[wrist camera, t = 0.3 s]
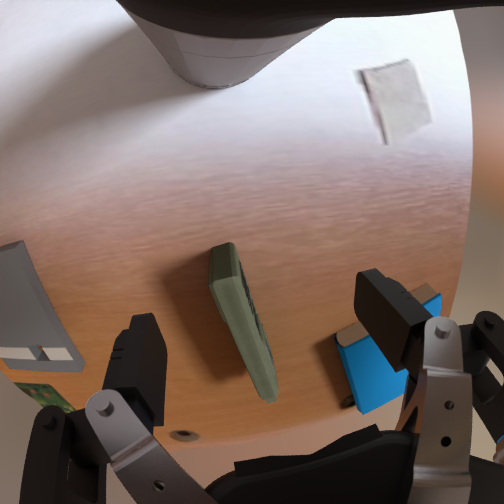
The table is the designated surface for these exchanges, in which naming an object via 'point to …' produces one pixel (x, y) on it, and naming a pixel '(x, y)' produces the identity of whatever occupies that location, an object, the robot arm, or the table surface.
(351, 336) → the book
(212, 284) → the handheld radio
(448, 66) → the table surface
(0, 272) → the board
